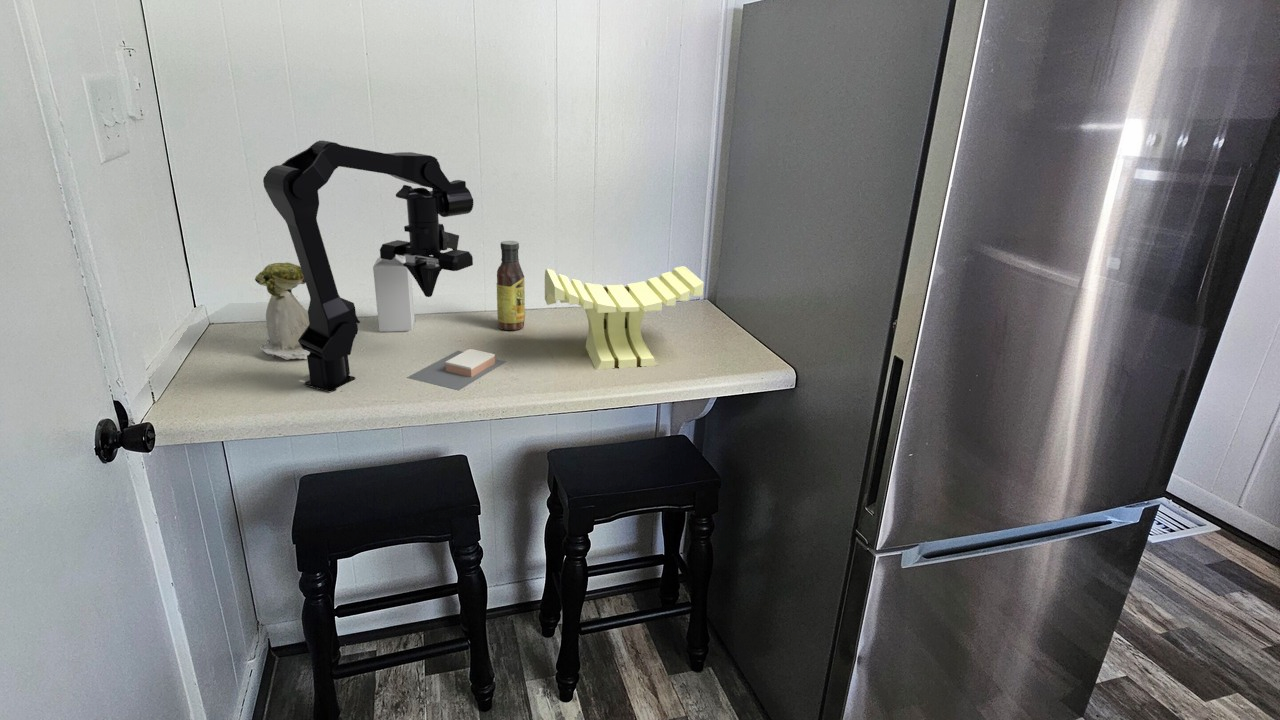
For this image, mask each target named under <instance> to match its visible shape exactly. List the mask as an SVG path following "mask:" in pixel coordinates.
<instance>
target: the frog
mask: <svg viewBox="0 0 1280 720" xmlns="http://www.w3.org/2000/svg"><path fill="white" fill-rule="evenodd" d="M254 281H255V283H257V284H258V285H260V286H263V287H266V291H267V292H268V293H269V295H271V296H270V297H269V298H270V299H269V301H268V304H267V307H266V312H265V325H266V330H267V337H268V339H267V342H268V343H267V342H266V343H264V344H261V345H260V349H261V350H262V351H263V352H264V353H265V354H267V355H268V356H272V357H274V356H275V355H276V357H279V358H282V359H285V360H290V359H292V360H295V359H299V360H302V359H303V360H307V355H309V354H310V352H309V351H307V350H304V349H302V347H301V345H300V344H299V342H298V340H299V338H300V337H301V335H302V334H303V333H304V331H305V330H306V329H307V327H308V326H309V317H308V309H306V308H305V307H304V306H303V305H302V303H301V302H300V301H299V300H298V299H297V297H296V296H295V295H294V294H293V293H292V291H293V289H295V288H296V287H297V288H298V286H299V285H306V282H305V279H304V276H303V273H302V270H301V267H300V265H299V264H298V265H297V264H295V263H291V262H275V263H269V264H268V265H266V266H265V267H264V268H263V270H262V271H259V273H258V274H257V275H256V276H255V277H254Z"/></svg>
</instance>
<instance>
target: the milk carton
mask: <svg viewBox="0 0 1280 720" xmlns="http://www.w3.org/2000/svg"><path fill="white" fill-rule="evenodd" d="M403 263H406V259H405V256H401V255H396V257H395V258H394V259H393V260H387V259H381V257H380V256H379V257H378V258H377V259H376V260H375V262H374V265H373V266H372V271H373V280H374V290H375V300H376V310H377V319H378V330H379V332H380V333H386V332H387V333H388V332H389V333H391V332H394V333H395V332H409V331H413V330H414V326H415V322H416V319H415V317H416V315H415V304H414V303H415V302H414V291H413V290H414V288H413V275H412V274H411V273H410V271H409V270H408V268H407V267H405V266H404V265H403Z"/></svg>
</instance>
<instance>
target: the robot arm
mask: <svg viewBox="0 0 1280 720" xmlns="http://www.w3.org/2000/svg"><path fill="white" fill-rule="evenodd" d="M339 167H341V168H346V169H347V168H348V169H354V170H360V171H365V172H374V173H380V174H386V175H389V176H391V177H392V178H395V179H398V180H401V181H403V182H405V183H409V184H415V185H418V186H420V187H416V188H413V187H412V186H411V185H407V184H403V185H402V187H401V189H399V190H398V191H397V192H396V193H395V197H396V198H399V199H402V200H406V208H407V223H408V224H407V225H404V227H403V229H404V232H406V233H407V232H408V237H409V241H407V240H406V241H405V240H399V239H395V240H392V241H390V242H386V243H382V244H381V247H380V248H379V257H381V259H387V260H393V259H394V258H395V257H396V255H401V256H405V259H406V263H403V265H404V266H405V267H407V268H408V270H409V271H410V273H411V275H412V278H414V279H415V281H416V283H417V284H418V286H419V288H420V290H421V291H422V293H423V295H424V296H425V297H427V298H431V297H432V296H433V295H434V291H435V286H436V284H437V281H438V277H439V275H440V273H441V271H442V270H444V271H445V270H446V271H451V272H457V271H460V270H463V269H466V268H469V267H472V266H473V265H474V262H473V260H474V258H473V255H472V253H471V252H470V251H468V250H461V249H458V246H459V239H460V235H459V234H455V233H452V232H449V231H445V226H444V224H443V223H440V221H439V217H442V218H446V217H447V218H448V217H455V216H460V215H468V214H470V213H471V212H472V211H473V208H474V198H473V196H472V193H471V191H470V189H469V188H468V187H467V186H466V185H467V183H466V181H465V180H461V179H455V180H452V181H450V180H449V178H447V176H446V174H445V173H444V172H443V171H442V169H441V166H440V162H439V161H438V158H437V157H435V156H432V155H428V154H423V153H417V152H411V151H409V152H407V151H406V152H401V151H400V152H393V153H389V152H388V153H385V152H380V151H374V150H368V149H362V148H358V147H354V146H353V147H352V146H347V145H342V144H339V143H337V142H333V141H328V140H318V141H316V142H314V143H313V144H312V145H310V146H309V147H308V148H307V149H304V150H303V151H301V152H299V153H297V154H295V155H294V156H292V157H290V158H288V159H286V160H285V161H284V162H283V163H282V164H279V165H277V164H276V165H275V166H272V167H270V169H268V170H267V172H266V174H265V175H264V176H263V187H264V190H265V192H266V194H267V196H268V198H269V199H270V201H271V203H272V205H273V206H274V208H275V209H276V210H277V212H278V213H279V215H280V216H281V217H282V218H283V220H284V221H285V223H286V226H287V228H288V231H289V235H290V238H291V240H292V244H293V247H294V251H295V254H296V257H297V259H298V263H299V266H300V267H301V270H302V273H303V276H304V279H305V282H306V283H305V285H306V288H307V291H308V294H309V299H310V300H309V305H308V309H307V311H308V317H309V326H308V327H307V329H306V330H305V331H304V333H303V334H302V335H301V337H300V338H299V340H298V342H299V344H300V345H301V347H302V349H304V350H307V351H309V352H310V354H309V355H307V359H306V360H307V361H306V362H307V367H308V374H309V379H308V380H307V381H304V386H307V387H309V388H310V387H311V388H314V389H318V390H321V391H325V392H329V393H330V392H333V391H335V390H337V389H338V388H340V387H342V386H345V385H346V384H348V383H350V382H352V381H354V380H356V376H353V375H350V374H351V372H350V365H349V356H350V355H351V354H352V349H353V346H354V345H353V344H354V341H355V338H356V336H357V335H358V333H359V326H358V324H361V321H360V320H359V318H358V317H357V311H356V306H355V303H354V302H352V301H351V300H347V299H345V298H343V297H341V296H340V295H339V292H338V288H337V284H336V281H335V278H334V274H333V272H332V268H331V264H330V261H329V258H328V255H327V251H326V248H325V243H324V241H323V238H322V234H321V231H320V227H319V224H318V221H317V218H318V217H317V216H318V213H319V207H320V198H319V197H320V196H319V190H320V189H322V187H324V186H325V185H326V184H327V183H328V181H329V180H330V178H331V177H332V176H333V174H334V172H335V171H336V170H337V169H338V168H339ZM428 188H429V189H432V190H429V189H428ZM448 249H451V250H448ZM447 250H448V251H447ZM441 251H442V252H441ZM443 251H445V252H443Z"/></svg>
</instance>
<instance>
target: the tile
mask: <svg viewBox="0 0 1280 720" xmlns="http://www.w3.org/2000/svg"><path fill="white" fill-rule="evenodd" d="M462 352H463V353H461V354H459V355H457V356H455V357H453V358H452V359H450V360H448V361H446V362H445V365H446V371H447V372H451V373H455V374H460V375H464V376H468V377H473V376H475V375H476V374H478V373H480V372H481V371H483V370H485V369H486V368H488V367H490V366H491V365H493V364H495V359H496V354H495V353H491V352H488V351H487V352H486V351H482V350H477V349H472V348H468V349H467V350H465V351H462Z"/></svg>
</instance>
